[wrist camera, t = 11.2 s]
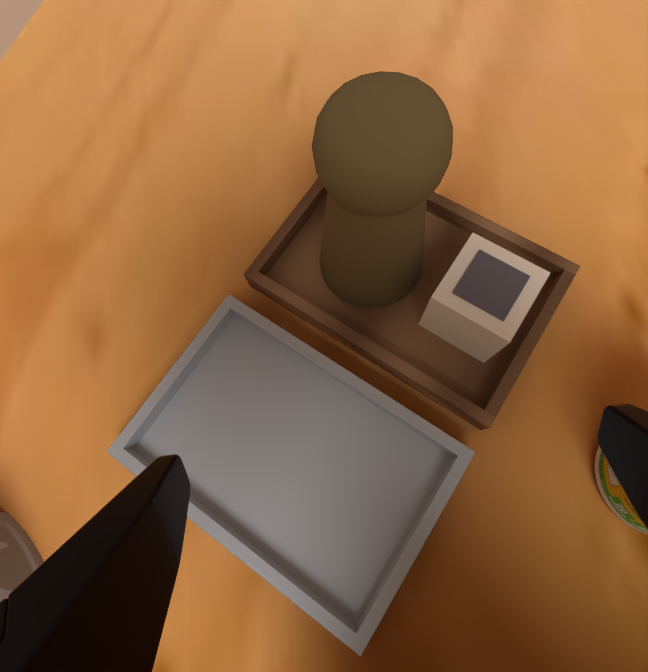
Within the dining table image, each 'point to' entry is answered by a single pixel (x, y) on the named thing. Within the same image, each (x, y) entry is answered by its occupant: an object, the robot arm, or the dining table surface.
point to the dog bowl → (15, 555)
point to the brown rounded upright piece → (378, 183)
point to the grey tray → (298, 467)
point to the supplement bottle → (615, 493)
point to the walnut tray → (411, 305)
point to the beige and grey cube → (483, 298)
